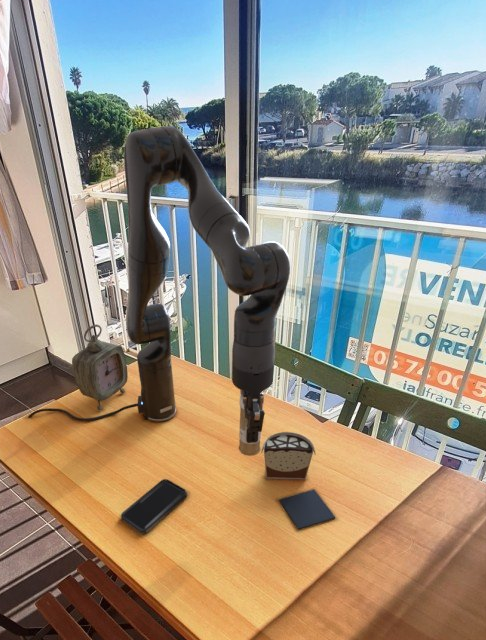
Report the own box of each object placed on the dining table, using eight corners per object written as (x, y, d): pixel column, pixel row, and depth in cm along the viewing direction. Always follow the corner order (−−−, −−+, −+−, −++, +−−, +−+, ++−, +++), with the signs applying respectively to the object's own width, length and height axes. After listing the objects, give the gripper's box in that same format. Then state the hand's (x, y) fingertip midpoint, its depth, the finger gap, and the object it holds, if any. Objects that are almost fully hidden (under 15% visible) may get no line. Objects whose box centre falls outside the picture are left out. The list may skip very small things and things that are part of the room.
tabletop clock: (100, 415, 135) (84, 339, 120) (78, 407, 139) (60, 333, 124) (131, 391, 144) (119, 319, 129) (109, 384, 148) (96, 313, 134)
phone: (188, 491, 105) (143, 532, 96) (189, 495, 106) (144, 535, 97) (164, 477, 110) (118, 515, 101) (164, 480, 110) (119, 518, 101)
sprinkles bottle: (237, 442, 95) (238, 390, 87) (259, 442, 95) (262, 389, 87) (239, 457, 92) (240, 403, 84) (261, 456, 91) (265, 402, 83)
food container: (308, 462, 113) (313, 430, 107) (311, 479, 108) (316, 447, 102) (259, 461, 114) (260, 430, 109) (260, 478, 110) (261, 446, 104)
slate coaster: (298, 529, 96) (298, 528, 96) (278, 500, 103) (279, 499, 103) (335, 518, 98) (335, 517, 98) (313, 490, 105) (314, 489, 105)
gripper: (227, 342, 86) (227, 413, 97) (237, 382, 75) (236, 458, 85) (266, 340, 86) (262, 411, 97) (282, 380, 75) (275, 456, 85)
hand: (250, 433), depth 91 cm, fingers closed on sprinkles bottle, 4 cm apart
